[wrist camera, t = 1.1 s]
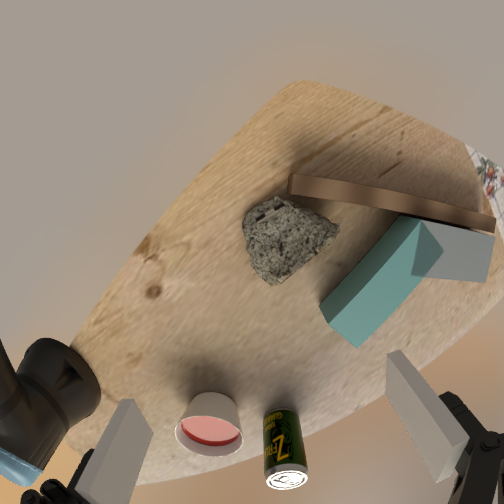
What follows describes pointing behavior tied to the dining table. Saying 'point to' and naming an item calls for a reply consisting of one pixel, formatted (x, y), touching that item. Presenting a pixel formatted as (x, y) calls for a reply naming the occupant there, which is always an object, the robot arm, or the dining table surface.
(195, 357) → the dining table surface
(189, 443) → the white cup
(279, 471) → the beer can
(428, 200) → the walnut wall
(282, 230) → the rock sample
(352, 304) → the grey teal angled block
